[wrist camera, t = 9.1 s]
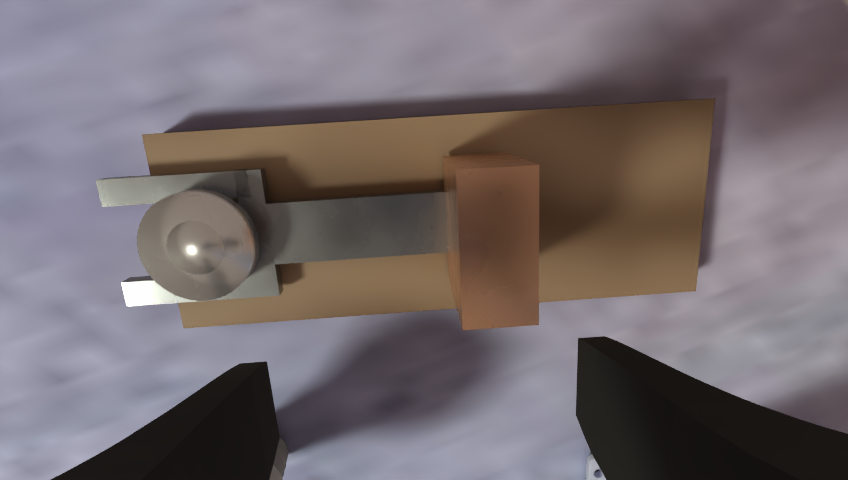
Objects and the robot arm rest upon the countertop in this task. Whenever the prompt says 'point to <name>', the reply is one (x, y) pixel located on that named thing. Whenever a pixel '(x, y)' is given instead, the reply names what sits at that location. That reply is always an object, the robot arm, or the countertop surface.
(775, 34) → the countertop surface
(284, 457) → the lightbulb
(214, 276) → the dished metal disc
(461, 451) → the countertop surface
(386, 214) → the forked latch lever
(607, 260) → the wooden board
